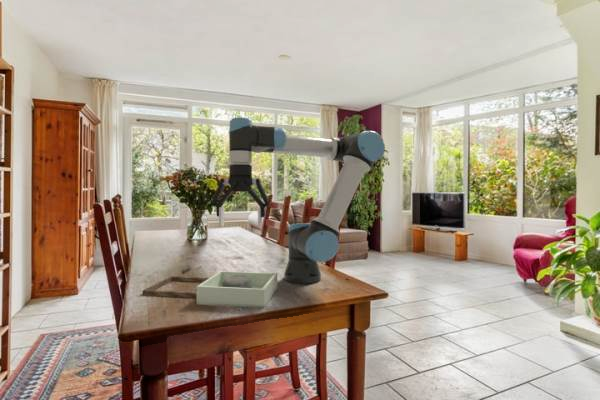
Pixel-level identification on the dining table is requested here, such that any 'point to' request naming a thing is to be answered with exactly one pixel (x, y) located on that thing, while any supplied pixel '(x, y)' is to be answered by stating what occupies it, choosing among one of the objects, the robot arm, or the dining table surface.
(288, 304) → the dining table surface
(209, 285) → the bin
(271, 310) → the dining table surface
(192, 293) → the frame
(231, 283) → the stone
